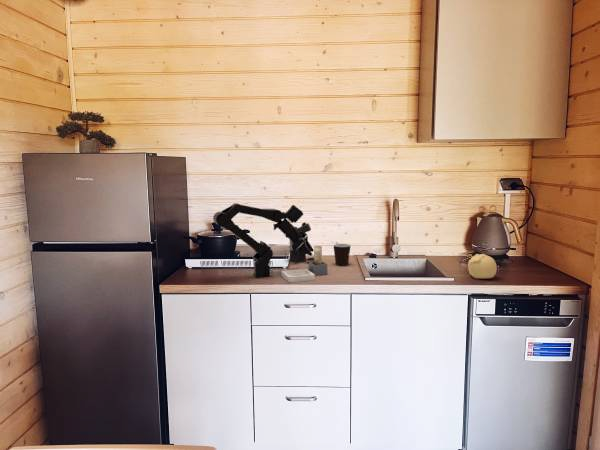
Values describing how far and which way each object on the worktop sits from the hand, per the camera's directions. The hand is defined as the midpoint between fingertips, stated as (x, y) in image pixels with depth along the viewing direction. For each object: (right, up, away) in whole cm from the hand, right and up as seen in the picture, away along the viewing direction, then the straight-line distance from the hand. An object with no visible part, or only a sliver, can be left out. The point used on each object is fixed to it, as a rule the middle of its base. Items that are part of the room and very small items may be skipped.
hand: (312, 253), depth 209 cm
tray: (-7, -11, -7) cm, 15 cm away
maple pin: (+3, -10, +1) cm, 10 cm away
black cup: (+16, -7, +20) cm, 26 cm away
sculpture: (+75, -11, -9) cm, 77 cm away
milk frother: (-3, -6, +27) cm, 28 cm away
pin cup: (+3, -10, +1) cm, 10 cm away
